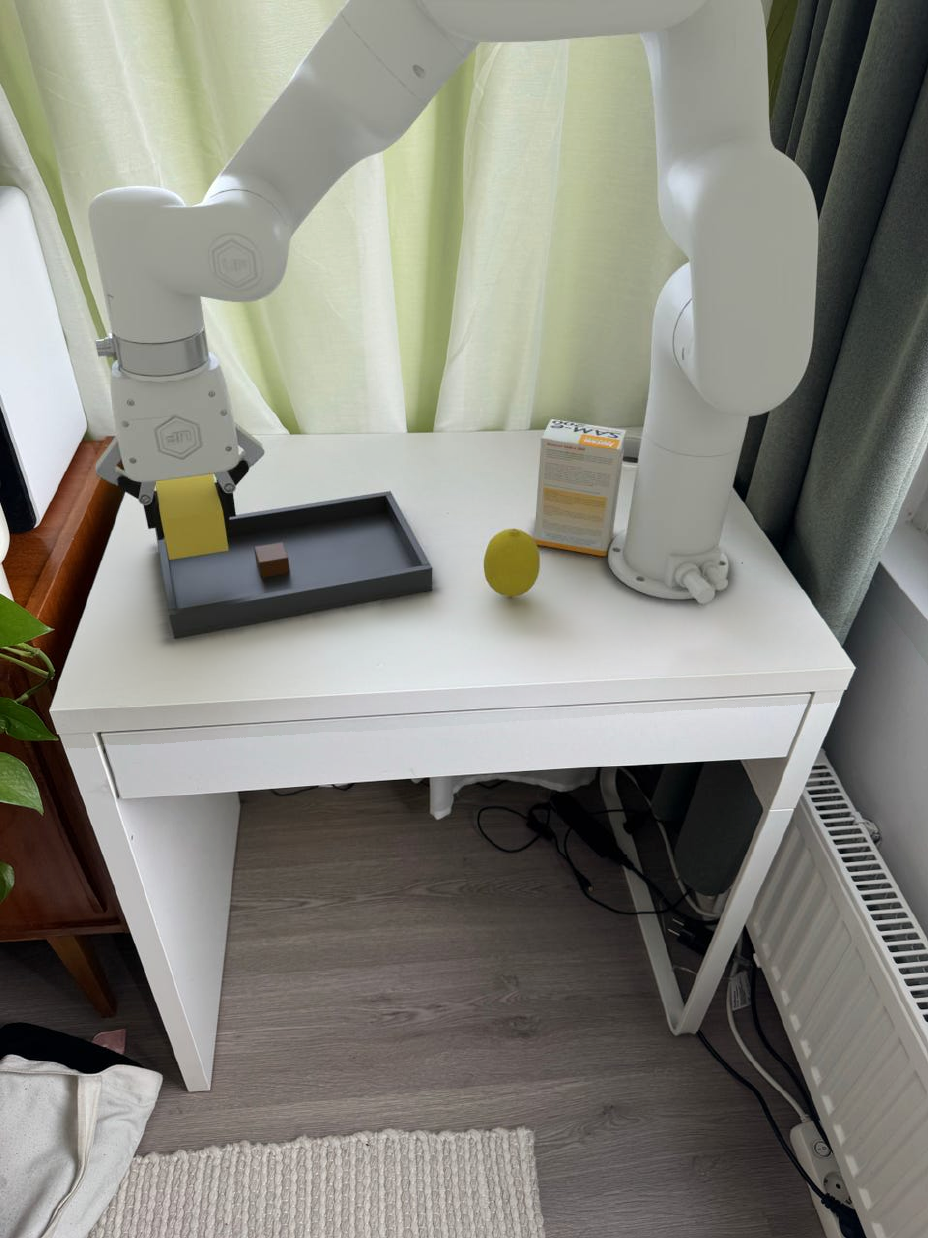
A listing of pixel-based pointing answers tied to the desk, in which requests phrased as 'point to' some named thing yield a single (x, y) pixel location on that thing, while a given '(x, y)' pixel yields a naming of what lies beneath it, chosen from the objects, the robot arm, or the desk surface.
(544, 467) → the supplement box
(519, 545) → the lemon
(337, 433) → the desk surface
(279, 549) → the brown block
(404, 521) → the pan
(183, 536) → the sponge
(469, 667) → the desk surface
